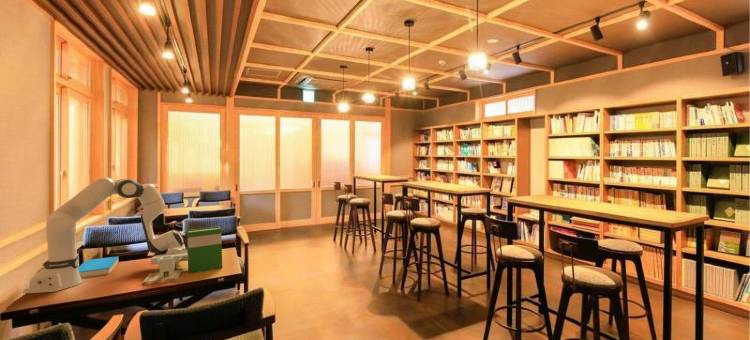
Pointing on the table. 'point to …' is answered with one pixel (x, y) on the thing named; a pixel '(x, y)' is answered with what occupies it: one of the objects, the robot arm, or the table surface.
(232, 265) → the table surface
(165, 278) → the post board
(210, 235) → the hardback book
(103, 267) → the book
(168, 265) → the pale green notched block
